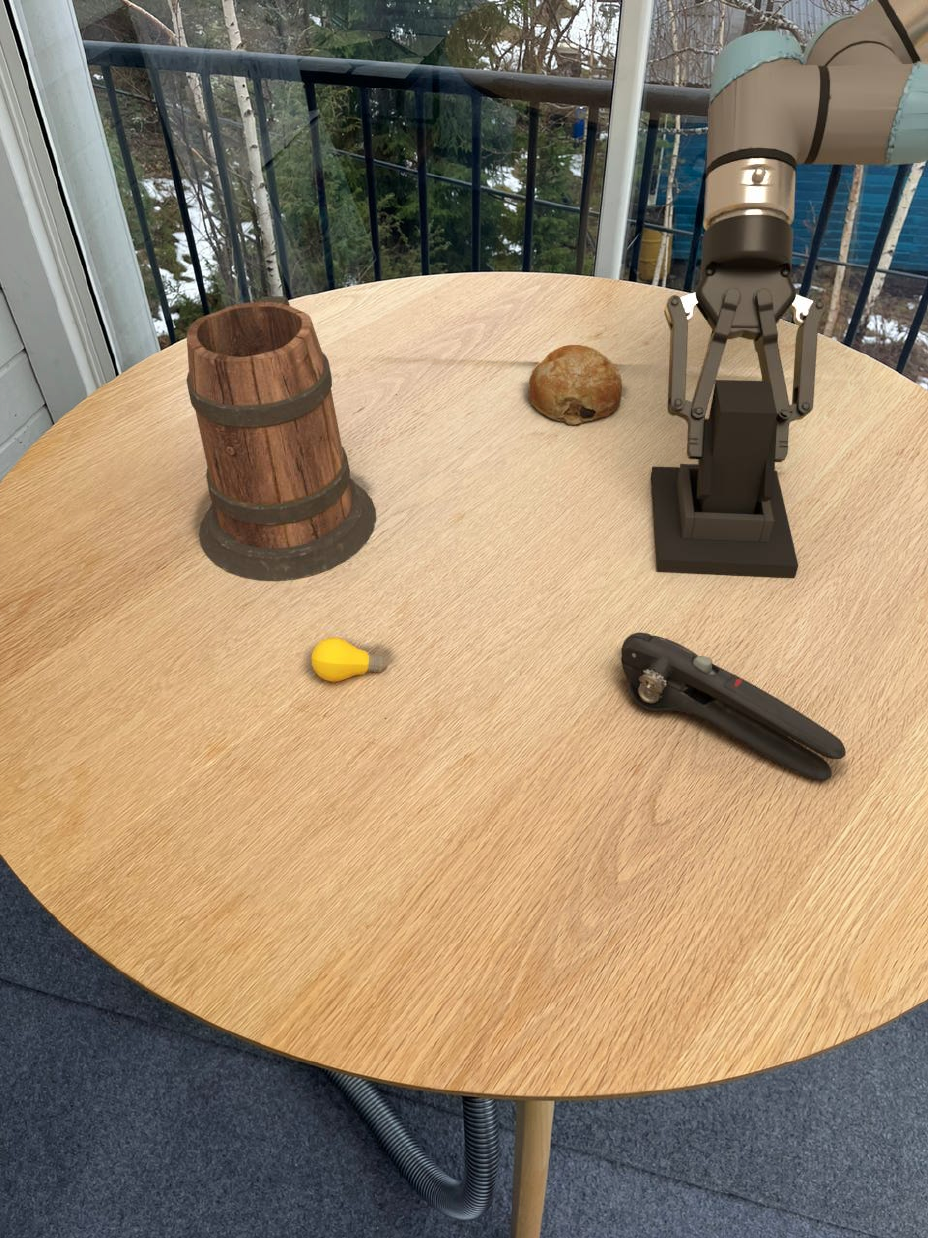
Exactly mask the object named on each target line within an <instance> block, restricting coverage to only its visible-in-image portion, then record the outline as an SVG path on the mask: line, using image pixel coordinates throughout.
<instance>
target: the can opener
mask: <svg viewBox="0 0 928 1238" xmlns="http://www.w3.org/2000/svg"><path fill="white" fill-rule="evenodd" d="M620 651H621V657H620V662H621V666H622V670H623V673H624V676H625V678H626V680H627V685H628V689H629V692H630V695H631V697H632V699H633V700H634V702H635V703H636V704H637V705H638V706H639V707H641V708H642V709H644V710H646V711H650V712H667V711H676V712H683V713H686V714H690V715H693V716H696V717H698V718H701V719H704V720H705V721H707V722H709V723H711V724H713V725H714V726H716V727H718V728H719V729H721V730H723V731H724V732H726V733H727V734H729V735H731V736H732V737H733V738H735V739H736V740H738V741H740V742H742V744H743V743H744V744H745V745H747V746H748V747H750V748H751V749H753V750H754V751H756V752H758V753H759V754H761V755H762V756H764V757H765V758H768V759H770V760H771V761H774V763H776V764H779V765H780V766H783V767H784V768H787V769H788V770H791V771H793V772H795V773H797V774H799V775H801V776H804V777H806V778H808V779H811V780H814V781H820V782H821V781H823V782H824V781H827V780H829V779H831V777H832V776H833V771H832V770H833V769H832V768H831V765H830V764H829V763H828V761H826V760H825V758H827V759H830V760H841V759H843V758H844V757H845V756H846V753H847V752H846V748H845V744H844V743H843V742H842V740H841V739H840V738H839V737H838V736H836V735H835V734H833V733H832V732H831V731H829V730H827V729H826V728H825V727H823V726H821V724H819V723H817V722H815V721H814V720H812V719H811V718H809V717H808V716H806V715H805V714H804V713H802V712H800V711H798V710H797V709H796V708H794V707H792V706H791V705H790V704H787V703H786V702H784V701H782V700H781V699H779V698H777V697H776V696H774V695H772V694H770V693H768V692H767V691H765V690H763V689H761V688H759V687H758V686H756V685H755V684H754V683H751V682H749V681H748V680H745V679H744V678H742V677H740V676H738V675H737V674H734V673H731V672H729V671H728V670H725V669H724V668H722V667H720V666H718V665H717V664H714V663H713V659H712V658H710V657H709V656H705V655H698V654H697V653H695V652H694V651H692V650H690V649H689V648H687V647H686V646H684V645H682V644H680V643H678V642H675V641H673V640H671V639H668V638H665V637H663V636H659V635H653V634H652V635H651V634H650V633H647V632H641V631H640V632H635V633H632V634H630V635H629V636H627V637H626V638H625V640H624V641H623V643H622V646H621V649H620ZM823 757H825V758H823Z"/></svg>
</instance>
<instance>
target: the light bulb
mask: <svg viewBox="0 0 928 1238" xmlns="http://www.w3.org/2000/svg"><path fill="white" fill-rule="evenodd" d="M387 664H388V661H386V660H385V658H384V657H383V656H382V655H381V654H380V655H379V654H378V655H377V654H372V653H371V654H369V652H367V651H366V650H364V649H360V648H357V646H354V645H353V644H351V643H350V642H348V641H346V640H345V639H343V638H341V637H336V636H335V637H327V638H325V639H322V640H321V641H320V642H318V643H317V644H316V645H315V647H314V648H313V650H312V654H311V666H312V668H313V671H314V672H315V673H316V674H317V675H318V677H320V678H321V679H323V680H325V681H328V682H340V681H344V680H347V679H349V678H351V677H353V676H356V675H357V676H359V675H365V673H367V672H372V673H380V674H381V672H383V671H384V669H386V668H387V667H388V666H387Z"/></svg>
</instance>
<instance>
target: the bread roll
mask: <svg viewBox="0 0 928 1238" xmlns="http://www.w3.org/2000/svg"><path fill="white" fill-rule="evenodd" d="M622 381H623V380H622V376H621V373H620V371H619V369H618V368H617V366H616V365H615V363H613V361H612V360H611V359H610V358H608V357H606V356H605V355H604V354H603V353H602V352H600V351H599V350H597V349H595V348H593V347H589V346H587V345H581V344H567V345H563V346H560V347H558V348H556V349H555V350H553V351H551V352H549V353H548V354H547V355H546V357H545V358H543V360H542V361H541V362H539V363H537V364H536V365H535V366H534V368H533V369H532V371H531V374H530V376H529V381H528V382H529V384H528V385H529V390H528V397H529V398H528V399H529V401H530V404H531V405H532V406H533V407H534V408H535V409H536V410H537V412H539V413H541V414H543V415H544V416H546V417H547V418H549V419H551V420H553V421H556V422H557V421H558V422H561V423H566V424H567V425H569V426H574V425H578V424H582V423H583V424H584V423H586V422H592V421H595V420H598V419H601V418H607V417H608V416H610V415H612V414H613V413H614V412H615V411H616V410H617V408H618V406H619V405H620V403H621V399H622V395H623V394H622V393H623V382H622Z"/></svg>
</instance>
